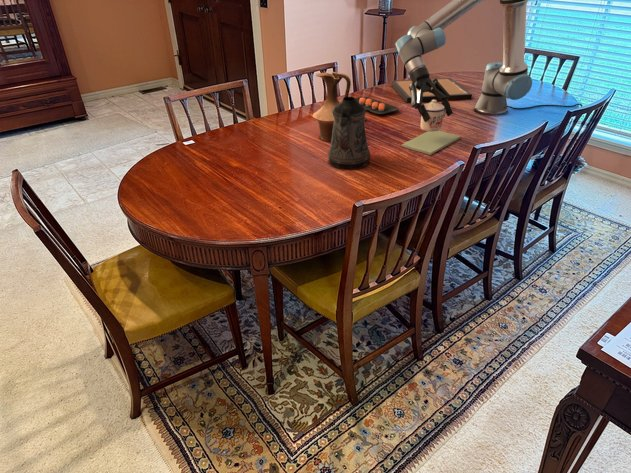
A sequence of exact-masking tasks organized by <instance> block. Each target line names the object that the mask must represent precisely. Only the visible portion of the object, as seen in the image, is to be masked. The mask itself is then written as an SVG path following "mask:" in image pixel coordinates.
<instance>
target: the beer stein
mask: <svg viewBox="0 0 631 473" xmlns="http://www.w3.org/2000/svg"><path fill="white" fill-rule="evenodd" d="M355 98H356V97H353V96H348V97H343V98H342V100H341V102H339V104H338V105H337V106H336V107H335V108H334V109H333V111H332V114H333V117H334V124H333V131H332V140H331V141H330V146H329V150H328V152H327V157H328V163H329V164H330V165H331V166H332V167H334V168H336V169H339V170H340V169H341V170H346V171H347V170H349V171H350V170H357V169H361V168H365V167H366V166H367V165H368V164H369V161H370V157H371V151H370V149H369V146H368V141H367V140H368V139H367V134H366V132H367V131H366V126H365V120H364V118H365V115H366V112H367V110H365V109H364V107H363V106H362V105H360V104H359V103H358V102H357V101H356V100H355Z"/></svg>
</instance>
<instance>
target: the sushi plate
mask: <svg viewBox="0 0 631 473" xmlns="http://www.w3.org/2000/svg"><path fill="white" fill-rule="evenodd" d="M354 98H355V100H356V101H357V102H358V103H359V104H360V105H362V106H363V107H364V109H365V110H366V112H369V113H372V114H375V115H378V116H383V115H389V114H391V113H395V112H398V111H399V110H400V108H399V107H397V106H396V105H392V104H390V103H386V102H384V101H380V100H377V99H375V98H372V97H369V96H359V97H354ZM364 122H367V119H366V117H364Z"/></svg>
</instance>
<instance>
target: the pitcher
mask: <svg viewBox="0 0 631 473" xmlns="http://www.w3.org/2000/svg"><path fill="white" fill-rule="evenodd" d="M315 77H319V78H321V79H322V80H323V81H324V83H325V86H326V96H325V97H326V98H325V101H324V102H323V105H322V106H321V107H320V108H319V109H317V111H315V112H314V113H313V114H312V118H313V119H314V120H317V123H318V128H319V135H320V136H319V138H320V139H321V140H322V141H323V142H331V140H332V131H333V124H334V117H333V114H332V111H333V109H334V108H335V107H336V106H337V105H338V104H339V103H340V101H339V99H338V96H337V86H338V84H339V83H340V82H341V80H342V79H344V80H345V81H346V86H345V93H344V97H349V94H350V91H351V85H352V84H351V83H352V82H351V78H350V77H349V75H348V74H346V73H340V72H336V71H332V73H329V72H320V73H316V74H315ZM344 97H343V98H344Z"/></svg>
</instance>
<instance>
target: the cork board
mask: <svg viewBox="0 0 631 473" xmlns="http://www.w3.org/2000/svg"><path fill="white" fill-rule="evenodd" d="M430 79H431V80H434V79H435V78H430ZM437 80H438V82H439V83H440V84H441V85H442V87H443V88H444V89H445V90H446V91H447V92H448V93H449V94H450V97H449V98H448V101H449V102H453V101H469V100H470V101H471V100H472V99H473V94H472V93H471V92H470V91H469V90H467V89H465V88H464V87H463V86H462V85H460V84H459V83H457V82H456V81H454V80H453V79H452V78H451V77H441V78H437ZM411 84H412V81H411V79H403V80H392V81H391V86H392V88H393V89H394V90H395V91H396V92H397V94H398V95H399V96H400V97H401V98H402V100H404V102H405V103H406V104H411V93H410V89H409V86H410V85H411ZM431 89H432V88H431ZM417 91H418V89H417V88H416V92H417ZM417 95H418V94H417ZM446 96H447V95H446ZM432 100H436V101H437V102H442V101H441V100H440V99H439V98H437V97H436V96H435V95H434V94H432V93H429V92H424V93H423V98H422V103H430V102H432Z"/></svg>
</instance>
